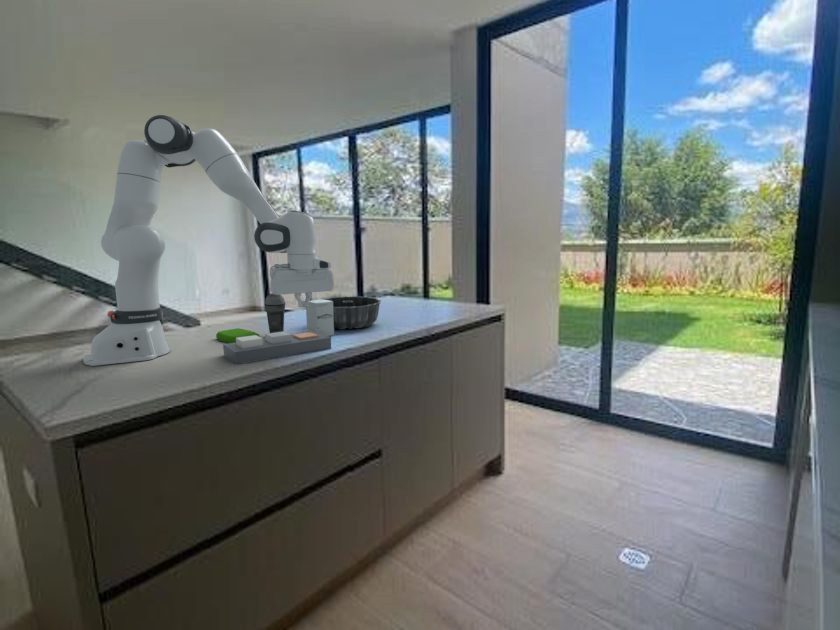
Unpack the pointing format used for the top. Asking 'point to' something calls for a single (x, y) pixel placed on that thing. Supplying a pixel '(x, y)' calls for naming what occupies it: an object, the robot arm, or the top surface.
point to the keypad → (276, 349)
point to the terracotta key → (305, 336)
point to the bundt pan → (354, 311)
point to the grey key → (278, 337)
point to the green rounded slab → (234, 335)
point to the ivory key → (249, 341)
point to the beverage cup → (275, 312)
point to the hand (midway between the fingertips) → (303, 306)
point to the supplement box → (320, 317)
